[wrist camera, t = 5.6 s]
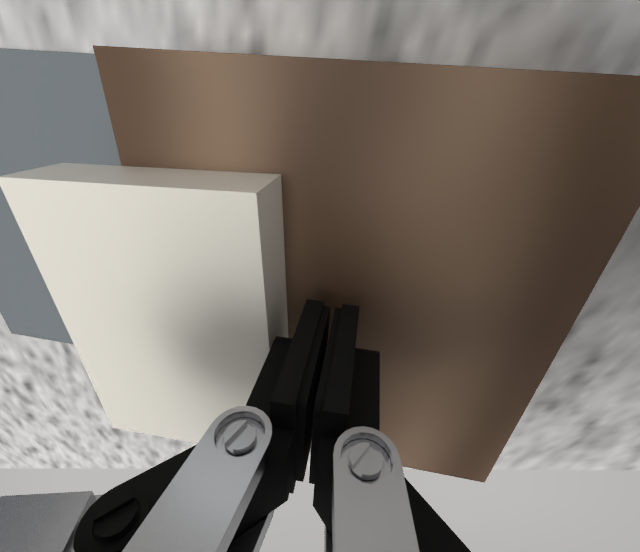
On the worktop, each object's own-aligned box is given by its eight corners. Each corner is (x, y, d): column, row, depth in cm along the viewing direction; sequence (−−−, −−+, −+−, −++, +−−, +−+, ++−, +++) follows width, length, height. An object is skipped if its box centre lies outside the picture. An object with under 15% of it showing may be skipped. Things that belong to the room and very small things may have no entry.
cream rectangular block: (281, 174, 9) (256, 192, 7) (291, 413, 14) (278, 458, 12) (62, 162, 10) (-4, 176, 8) (144, 389, 15) (112, 427, 13)
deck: (599, 84, 10) (710, 80, 7) (464, 406, 18) (484, 482, 14) (177, 59, 12) (93, 45, 8) (218, 363, 19) (182, 422, 16)
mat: (165, 58, 12) (158, 57, 11) (210, 362, 19) (207, 367, 19) (-131, 41, 13) (-145, 39, 13) (17, 329, 21) (11, 333, 20)
